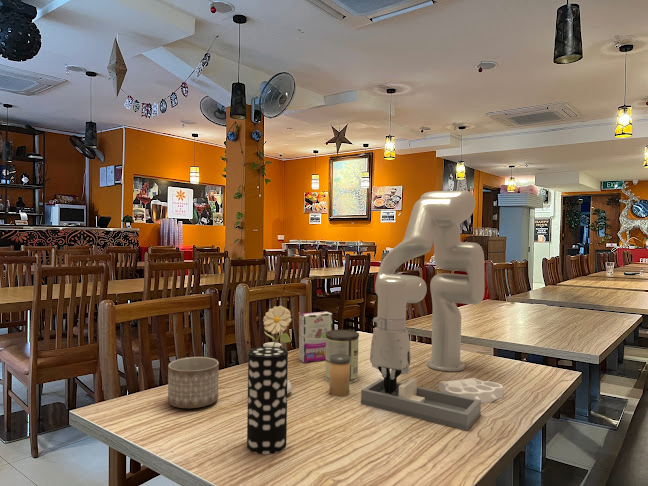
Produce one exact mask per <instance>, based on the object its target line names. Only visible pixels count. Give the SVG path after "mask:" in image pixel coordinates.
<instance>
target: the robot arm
mask: <svg viewBox="0 0 648 486" xmlns="http://www.w3.org/2000/svg"><path fill="white" fill-rule="evenodd" d="M475 207H476V199H475V196H474V194H473V193H472V192H471V191H469V190H434V191H428V192H425V193H423V194H422V195H421V196H420V199H418V200H417V201H416V202H415V203H414V205H413V208H412V210H411V214H410V216H409V221H408V223H407V226H406V227H407V228H406V230H405V234H404V237H403V239H402V241H401V242H400V243H397V245H395V247H393V248H392V249H391V250H390V251H389V252H388V253H387V254H386V255H385V257H384V258H383V259H382V261H381V262H380V266H379V268H378V272H377V275H376V278H375V285H374V289H375V294H376V295H377V316H376V317H373V319H372V322H373V323H375V324H376V327H374V329H373V332H372V337H371V345H370V354H369V355H370V356H369V361H370V364H371V367H372V368H375V369H377V371H379V372H380V373H381V377H382V379H384V388H385V393H388V394H392V393H393V392H395V390H396V384H397V381H398V380H397V378H398V377H399V376H400V375H407V374H409V373H410V372H411V368H410V365H411V357H412V356H411V355H412V354H411V343H410V334H409V330H408V329H406V327H407V304H417V303H419V302H421V301H423V299H424V298H425V297H426V295H427V289H428V288H427V286H428V285H427V283H426V281H425V280H424V279H423V278H421V277H420V276H416V275H411V274H410V275H407V274H399V273H398V274H397V273H395V272H396V270H397V269H398V268H399V267H400V266H401V265H402V264H405V263H406V262H408V261H410V260H413V259H415V258H418V257H421V256H424V255H426V254H428V253H429V252H430V251H431V250H432V248H433V253H434V254H433V256H434V257H433V258H434V263H435V266H436V267H437V268H438V269H441V270H443V271H445V270H446V271H456V272H457V271H458V272H466V274H459V273H447V272H444V273H437V274H435V275H434V276H433V277H432V278H431V279H430V286H429V287H430V288H429V289H430V294H431V302H432V303H431V304H432V306H431V307H432V320H431V321H432V322H431V323H432V325H431V357H430V358H429V359H427V360H426V366H427V367H428V368H430V369H433V370H435V371H436V370H437V371H442V372H462V371H463V370H465V368H466V364H465V363H464V362H463V361H461V347H462V346H461V345H462V344H461V342H462V313H461V311H460V309H459V308H458V306H457V304H463V305H464V304H465V305H479V304H480V303H482V302H483V300H484V297H485V254H484V253H485V252H484V250H483V248H482V246H481V245H480V244H478V243H476V242H471V241H470V242H469V241H468V242H466V241H465V242H464V241H461V227H460V225H461V224H463V223H464V222H465V221H466V220H468V219H469V218H470V217H471V216H472V215H473V213H474V211H475Z"/></svg>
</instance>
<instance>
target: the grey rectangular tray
mask: <svg viewBox="0 0 648 486" xmlns="http://www.w3.org/2000/svg"><path fill="white" fill-rule="evenodd" d="M403 383H404V382H403ZM403 383H402V382H397V384H396V390H395V392H393V393H392V394H388V393H385V388H384V378H379V379H378V380H376V381H374V382H372V383H371V384H369V385H367V386H366V387H364V388H361V391H360V405H361V404H362V405H365V406H368V407H373V408H377V409H380V410H384V411H388V412H392V413H396V414H399V415H404V416H408V417H412V418H416V419H419V420H424V421H427V422H432V423H435V424H440V425H444V426H447V427H450V428H455V429H459V430H463V431H469V429H470V428H471V427H472V425H474V423H475V422H476V421H477V420H478V418H479V417H480V416H481V409H482V408H481V407H482V403H481V400H477V399H473V398H468V397H464V396H459V395H454V394H450V393H445V392H442V391H440V390H435V389H430V388H426V387H421V386H417V396H420V397H424V398H425V402H424V403H423V402H419V401H414V400H410V399H406V398H401V397H399V386H400V385H401V384H403Z"/></svg>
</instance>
